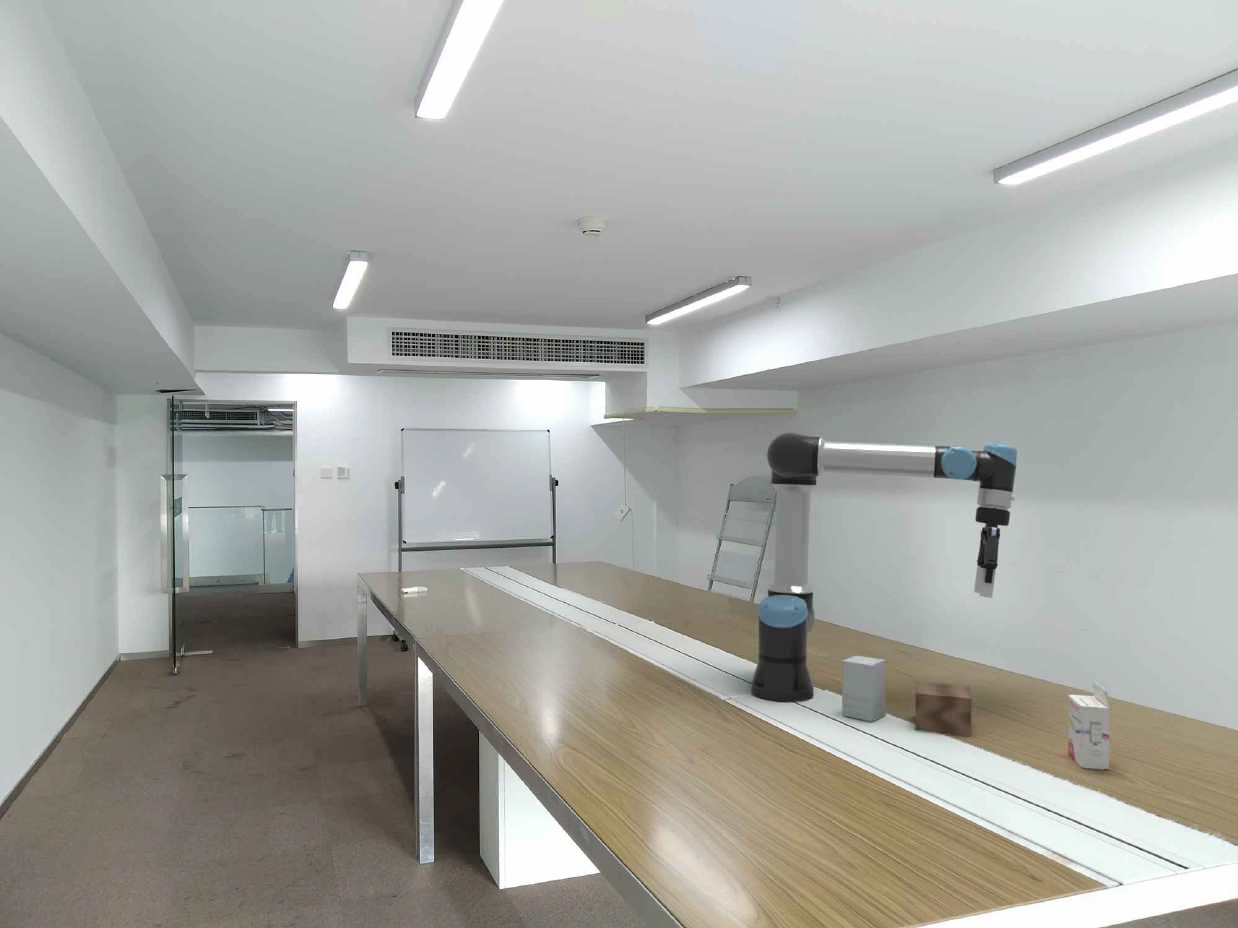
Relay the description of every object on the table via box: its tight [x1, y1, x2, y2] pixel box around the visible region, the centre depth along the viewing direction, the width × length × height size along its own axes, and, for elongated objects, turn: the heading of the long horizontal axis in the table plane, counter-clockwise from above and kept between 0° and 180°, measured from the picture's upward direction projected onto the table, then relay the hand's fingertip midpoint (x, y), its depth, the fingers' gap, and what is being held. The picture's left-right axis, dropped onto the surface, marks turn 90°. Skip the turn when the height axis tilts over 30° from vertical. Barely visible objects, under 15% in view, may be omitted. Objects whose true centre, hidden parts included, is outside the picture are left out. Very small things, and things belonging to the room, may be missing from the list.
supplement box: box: [841, 655, 887, 723], centre depth 190 cm, size 7×7×13 cm
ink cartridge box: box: [1067, 680, 1110, 770], centre depth 161 cm, size 9×5×15 cm, turn 168°
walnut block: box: [914, 681, 972, 737], centre depth 183 cm, size 11×11×8 cm
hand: (982, 595), depth 204 cm, fingers open, 13 cm apart
